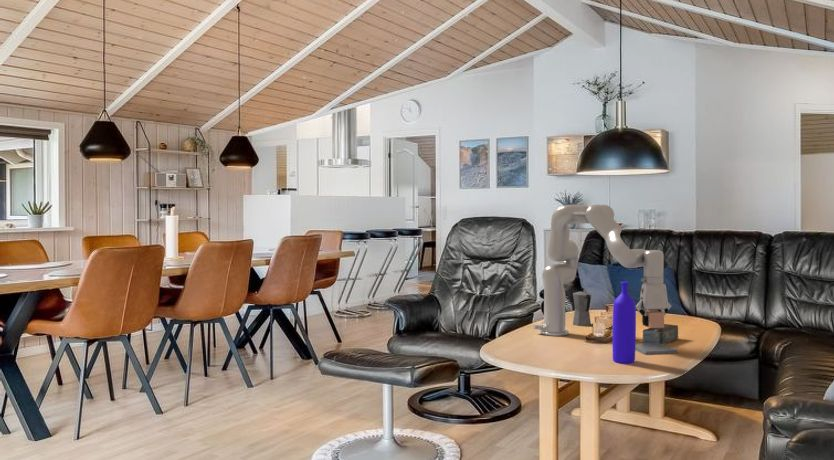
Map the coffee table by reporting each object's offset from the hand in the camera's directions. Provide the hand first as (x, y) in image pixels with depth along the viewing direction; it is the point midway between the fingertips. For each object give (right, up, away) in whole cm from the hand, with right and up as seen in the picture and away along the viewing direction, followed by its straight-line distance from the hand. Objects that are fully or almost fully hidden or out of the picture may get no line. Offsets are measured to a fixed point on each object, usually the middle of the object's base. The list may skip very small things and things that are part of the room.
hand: (653, 324), depth 270 cm
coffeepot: (-15, -8, +56) cm, 58 cm away
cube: (0, -1, 0) cm, 1 cm away
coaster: (0, -10, +1) cm, 10 cm away
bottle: (-18, -11, -19) cm, 28 cm away
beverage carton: (+10, -10, +18) cm, 23 cm away
